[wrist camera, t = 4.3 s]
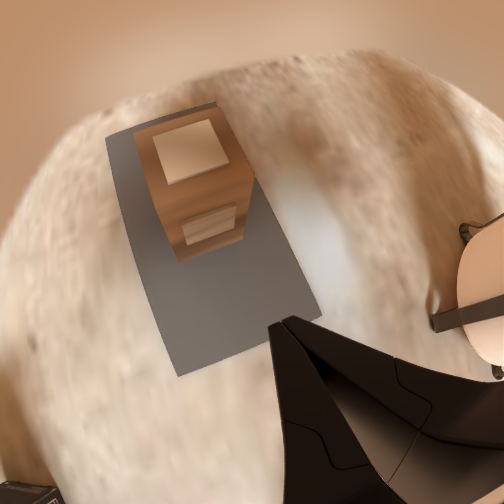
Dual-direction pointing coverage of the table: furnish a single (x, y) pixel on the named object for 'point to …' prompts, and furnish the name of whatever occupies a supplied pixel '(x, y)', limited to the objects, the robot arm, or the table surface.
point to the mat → (208, 270)
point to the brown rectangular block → (197, 181)
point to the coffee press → (480, 293)
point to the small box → (28, 494)
